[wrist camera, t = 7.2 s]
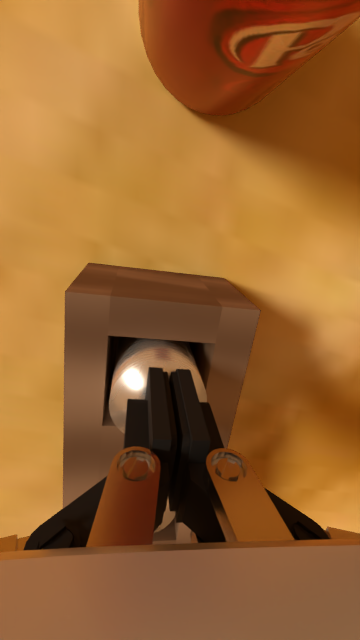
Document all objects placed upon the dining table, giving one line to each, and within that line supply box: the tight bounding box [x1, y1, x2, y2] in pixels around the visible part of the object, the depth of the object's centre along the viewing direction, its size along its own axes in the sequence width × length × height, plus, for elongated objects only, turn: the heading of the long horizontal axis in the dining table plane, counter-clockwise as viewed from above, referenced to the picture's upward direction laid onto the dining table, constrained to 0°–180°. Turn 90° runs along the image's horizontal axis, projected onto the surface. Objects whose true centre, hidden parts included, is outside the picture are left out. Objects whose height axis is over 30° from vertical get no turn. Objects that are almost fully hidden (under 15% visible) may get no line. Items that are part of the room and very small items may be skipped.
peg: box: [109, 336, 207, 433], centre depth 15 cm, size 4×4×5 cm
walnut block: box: [63, 263, 261, 545], centre depth 18 cm, size 16×8×6 cm, turn 172°
